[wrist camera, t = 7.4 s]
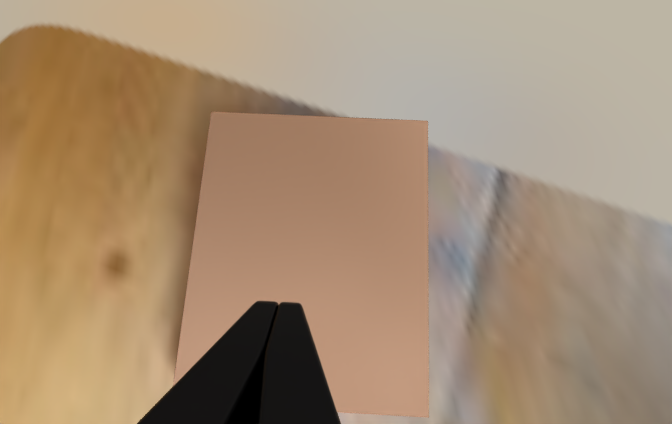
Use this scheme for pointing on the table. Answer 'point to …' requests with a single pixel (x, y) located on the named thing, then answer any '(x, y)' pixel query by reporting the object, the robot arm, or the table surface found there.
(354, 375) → the tile
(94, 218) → the table surface
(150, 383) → the table surface
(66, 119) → the table surface
